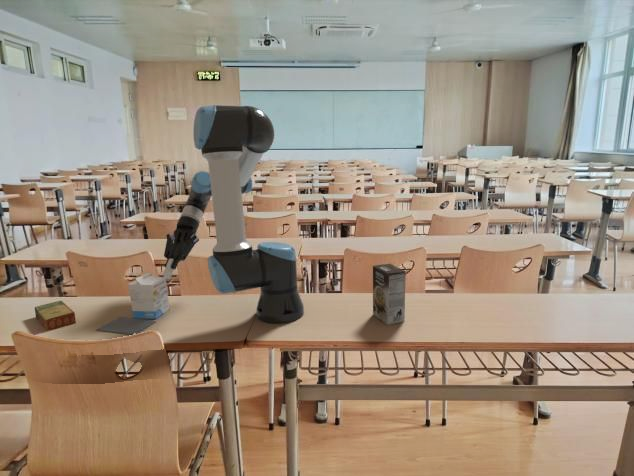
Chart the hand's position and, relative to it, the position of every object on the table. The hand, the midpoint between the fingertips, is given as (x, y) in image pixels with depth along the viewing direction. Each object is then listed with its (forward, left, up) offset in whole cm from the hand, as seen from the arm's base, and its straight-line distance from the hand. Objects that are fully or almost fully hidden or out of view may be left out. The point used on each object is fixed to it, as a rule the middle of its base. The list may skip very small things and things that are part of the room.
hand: (166, 276), depth 147 cm
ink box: (0, +10, -10) cm, 14 cm away
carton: (+28, +22, -10) cm, 37 cm away
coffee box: (-76, -5, -10) cm, 77 cm away
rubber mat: (+1, +20, -10) cm, 22 cm away
